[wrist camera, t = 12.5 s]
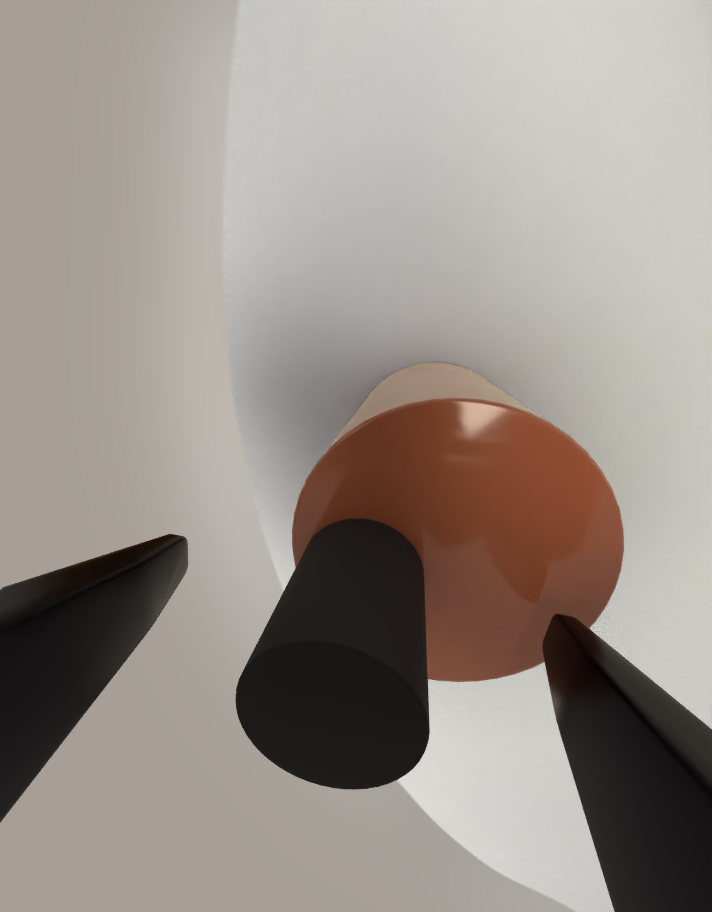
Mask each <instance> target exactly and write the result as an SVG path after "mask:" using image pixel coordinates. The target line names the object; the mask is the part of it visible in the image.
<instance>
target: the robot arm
mask: <svg viewBox="0 0 712 912" xmlns="http://www.w3.org/2000/svg"><path fill="white" fill-rule="evenodd" d="M187 568H188V542H187V539H186V538H185V537H183V536H179V535H173V534H168V535H165V536H162V537H159V538H156V539H152V540H150V541H146V542H143V543H140V544H137V545H134V546H131V547H127V548H124V549H121V550H118V551H115V552H112V553H109V554H106V555H102V556H100V557H96V558H94V559H90V560H87V561H84V562H81V563H78V564H75V565H71V566H68V567H65V568H62V569H59V570H56V571H53V572H49V573H46V574H43V575H40V576H37V577H34V578H31V579H28V580H25V581H22V582H19V583H15V584H12V585H9V586H6V587H3V588H2V589H1V590H0V822H1V821H2V820H3V818H4V817H5V816H6V814H7V813H8V812H9V811H10V809H11V808H12V807H13V805H14V804H15V803H16V802H17V800H18V799H19V798H20V796H21V795H22V794H23V793H24V791H25V790H26V789H27V787H28V786H29V785H30V783H31V782H32V781H33V780H34V778H35V777H36V776H37V775H38V773H39V772H40V771H41V769H42V768H43V767H44V765H45V764H46V763H47V762H48V760H49V759H50V758H51V756H52V755H53V754H54V752H55V751H56V750H57V749H58V747H59V746H60V745H61V744H62V742H63V741H64V740H65V738H66V737H67V736H68V734H69V733H70V732H71V731H72V729H73V728H74V727H75V725H76V724H77V723H78V722H79V720H80V719H81V718H82V716H83V715H84V714H85V713H86V711H87V710H88V709H89V707H90V706H91V705H92V703H93V702H94V701H95V700H96V698H97V697H98V696H99V694H100V693H101V692H102V691H103V689H104V688H105V687H106V685H107V684H108V683H109V682H110V680H111V679H112V678H113V676H114V675H115V674H116V673H117V671H118V670H119V669H120V667H121V666H122V665H123V663H124V662H125V661H126V660H127V658H128V657H129V656H130V654H131V653H132V652H133V651H134V649H135V648H136V647H137V645H138V644H139V643H140V641H141V640H142V639H143V638H144V636H145V635H146V634H147V632H148V631H149V630H150V628H151V627H152V626H153V624H154V623H155V621H156V620H157V618H158V616H159V615H160V613H161V612H162V610H163V609H164V607H165V605H166V604H167V602H168V601H169V599H170V597H171V596H172V594H173V593H174V591H175V589H176V588H177V586H178V585H179V583H180V582H181V580H182V578H183V577H184V575H185V573H186V571H187ZM542 649H543V656H544V661H545V666H546V671H547V676H548V681H549V686H550V691H551V696H552V701H553V706H554V711H555V715H556V720H557V724H558V727H559V731H560V734H561V737H562V741H563V744H564V747H565V751H566V754H567V757H568V760H569V764H570V767H571V770H572V774H573V777H574V780H575V783H576V787H577V790H578V793H579V797H580V800H581V803H582V806H583V810H584V813H585V816H586V819H587V823H588V826H589V829H590V833H591V836H592V839H593V842H594V846H595V849H596V852H597V856H598V859H599V862H600V865H601V869H602V872H603V875H604V878H605V882H606V885H607V888H608V892H609V895H610V898H611V901H612V905H613V908H614V911H615V912H712V729H711V728H709V727H708V726H707V725H706V724H705V723H703V722H702V721H701V720H700V719H698V718H697V717H696V716H695V715H694V714H692V713H691V712H690V711H689V710H687V709H686V708H685V707H684V706H683V705H681V704H680V703H679V702H678V701H677V700H675V699H674V698H673V697H672V696H670V695H669V694H668V693H667V692H666V691H664V690H663V689H662V688H661V687H659V686H658V685H657V684H656V683H655V682H653V681H652V680H651V679H650V678H648V677H647V676H646V675H645V674H644V673H642V672H641V671H640V670H639V669H638V668H636V667H635V666H634V665H633V664H631V663H630V662H629V661H628V660H627V659H625V658H624V657H623V656H622V655H620V654H619V653H618V652H617V651H616V650H614V649H613V648H612V647H611V646H609V645H608V644H607V643H606V642H605V641H603V640H602V639H601V638H600V637H599V636H597V635H596V634H595V633H594V632H592V631H591V630H590V629H589V628H588V627H586V626H585V625H584V624H583V623H581V622H580V621H579V620H578V619H577V618H575V617H573V616H568V615H563V614H558V613H557V614H554V615H553V617H552V618H551V621H550V624H549V626H548V629H547V632H546V634H545V637H544V640H543V645H542Z"/></svg>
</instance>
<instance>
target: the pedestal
mask: <svg viewBox="0 0 712 912" xmlns="http://www.w3.org/2000/svg"><path fill="white" fill-rule="evenodd" d="M346 519H369V520H374V521H378V522H381V523H383V524H386V525H388V526H390V527H392V528H394V529H395V530H397V531H398V532H400V533H401V534H402V535H403V536H405V537H406V538H407V539H408V540H409V541H410V542H411V544H412V545H413V546H414V548H415V549H416V550H417V552H418V554H419V556H420V559H421V561H422V564H423V569H424V587H425V616H426V645H427V674H428V679H432V680H438V681H452V682H469V681H483V680H490V679H497V678H501V677H505V676H509V675H513V674H517V673H520V672H522V671H525V670H528V669H531V668H533V667H536V666H538V665H540V664H542V663H544V662H545V661H544V656H543V649H542V645H543V640H544V637H545V634H546V632H547V629H548V626H549V624H550V621H551V618H552V617H553V615H554V614H557V613H558V614H563V615H568V616H573V617H575V618H577V619H578V620H579V621H580V622H581V623H583V624H584V625H585V626H586V627H588V628H590V627H591V626H592V625H593V624H594V623H595V622H596V620H597V619H598V617H599V616H600V615H601V613H602V612H603V610H604V609H605V607H606V606H607V604H608V602H609V600H610V598H611V596H612V594H613V592H614V590H615V587H616V584H617V581H618V578H619V574H620V571H621V566H622V559H623V552H624V538H623V525H622V520H621V515H620V510H619V506H618V504H617V501H616V498H615V495H614V493H613V490H612V488H611V486H610V484H609V483H608V481H607V479H606V477H605V476H604V474H603V472H602V470H601V469H600V468H599V466H598V465H597V464H596V463H595V461H594V460H593V459H592V458H591V456H590V455H589V454H588V453H587V451H585V450H584V449H583V448H582V447H581V446H580V445H579V444H578V443H577V442H576V441H575V440H573V439H572V438H571V437H570V436H569V435H567V434H566V433H564V432H563V431H562V430H560V429H559V428H557V427H556V426H554V425H553V424H551V423H550V422H548V421H547V420H545V419H544V418H542V417H541V416H539V415H538V414H536V413H535V412H533V411H532V410H530V409H529V408H527V407H526V406H524V405H523V404H521V403H520V402H518V401H517V400H515V399H513V398H512V397H510V396H509V395H507V394H506V393H504V392H503V391H501V390H500V389H498V388H497V387H495V386H494V385H492V384H491V383H489V382H488V381H486V380H485V379H483V378H482V377H480V376H479V375H477V374H476V373H474V372H472V371H470V370H468V369H466V368H463V367H460V366H457V365H454V364H449V363H441V362H428V363H420V364H415V365H411V366H408V367H405V368H403V369H400V370H398V371H396V372H395V373H393V374H391V375H390V376H388V377H387V378H385V379H384V380H383V381H381V382H380V383H379V384H378V385H377V386H376V387H375V388H374V389H373V391H372V392H371V393H370V394H369V395H368V397H367V398H366V399H365V401H364V402H363V403H362V404H361V406H360V407H359V408H358V410H357V411H356V412H355V414H354V415H353V416H352V417H351V419H350V420H349V421H348V423H347V424H346V425H345V427H344V428H343V429H342V431H341V432H340V433H339V434H338V436H337V437H336V438H335V440H334V441H333V442H332V444H331V445H330V446H329V447H328V449H327V450H326V451H325V453H324V454H323V455H322V457H321V458H320V459H319V461H318V462H317V463H316V465H315V467H314V468H313V470H312V471H311V473H310V474H309V476H308V477H307V479H306V482H305V484H304V486H303V488H302V490H301V493H300V495H299V498H298V502H297V505H296V509H295V512H294V520H293V527H292V548H293V554H294V561H295V566H296V567H297V565H298V563H299V561H300V559H301V557H302V555H303V553H304V551H305V549H306V547H307V545H308V543H309V542H310V541H311V539H312V538H313V537H314V536H315V535H316V534H317V533H318V532H319V531H320V530H321V529H323V528H324V527H326V526H328V525H330V524H332V523H335V522H338V521H341V520H346Z"/></svg>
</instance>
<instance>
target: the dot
mask: <svg viewBox="0 0 712 912" xmlns="http://www.w3.org/2000/svg"><path fill="white" fill-rule="evenodd" d="M236 709H237V714H238V718H239V720H240V723H241V725H242V728H243V729H244V731H245V733H246V735H247V736H248V738H249V739H250V740H251V741H252V743H253V744H254V745H255V747H256V748H257V749H258V750H259V751H260V752H261V753H262V754H263V755H264V756H265V757H267V758H268V759H269V760H271V761H272V762H273V763H274V764H276V765H277V766H278V767H280V768H282V769H283V770H285V771H287V772H289V773H290V774H292V775H294V776H296V777H298V778H301V779H304V780H306V781H309V782H312V783H315V784H318V785H322V786H327V787H332V788H340V789H368V788H373V787H379V786H382V785H385V784H388V783H391V782H393V781H395V780H398V779H399V778H401V777H403V776H404V775H406V774H407V773H408V772H409V771H411V770H412V769H413V768H414V767H415V766H416V764H417V763H418V762H419V761H420V759H421V757H422V756H423V754H424V752H425V749H426V747H427V744H428V739H429V732H430V731H429V702H428V674H427V645H426V616H425V587H424V569H423V564H422V561H421V559H420V556H419V554H418V552H417V550H416V549H415V548H414V546H413V545H412V544H411V542H410V541H409V540H408V539H407V538H406V537H405V536H403V535H402V534H401V533H400V532H398V531H397V530H395V529H394V528H392V527H390V526H388V525H386V524H383V523H381V522H378V521H374V520H369V519H346V520H341V521H338V522H335V523H332V524H330V525H328V526H326V527H324V528H323V529H321V530H320V531H319V532H318V533H317V534H316V535H315V536H314V537H313V538H312V539H311V541H310V542H309V543H308V545H307V547H306V549H305V551H304V553H303V555H302V557H301V559H300V561H299V563H298V565H297V567H296V569H295V571H294V573H293V575H292V576H291V578H290V580H289V582H288V584H287V586H286V588H285V590H284V592H283V594H282V596H281V598H280V600H279V602H278V604H277V606H276V608H275V610H274V612H273V614H272V616H271V617H270V619H269V621H268V623H267V625H266V627H265V629H264V631H263V633H262V635H261V637H260V639H259V641H258V643H257V645H256V647H255V649H254V651H253V653H252V655H251V657H250V659H249V661H248V662H247V664H246V666H245V668H244V670H243V672H242V675H241V676H240V678H239V681H238V685H237V689H236Z"/></svg>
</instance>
